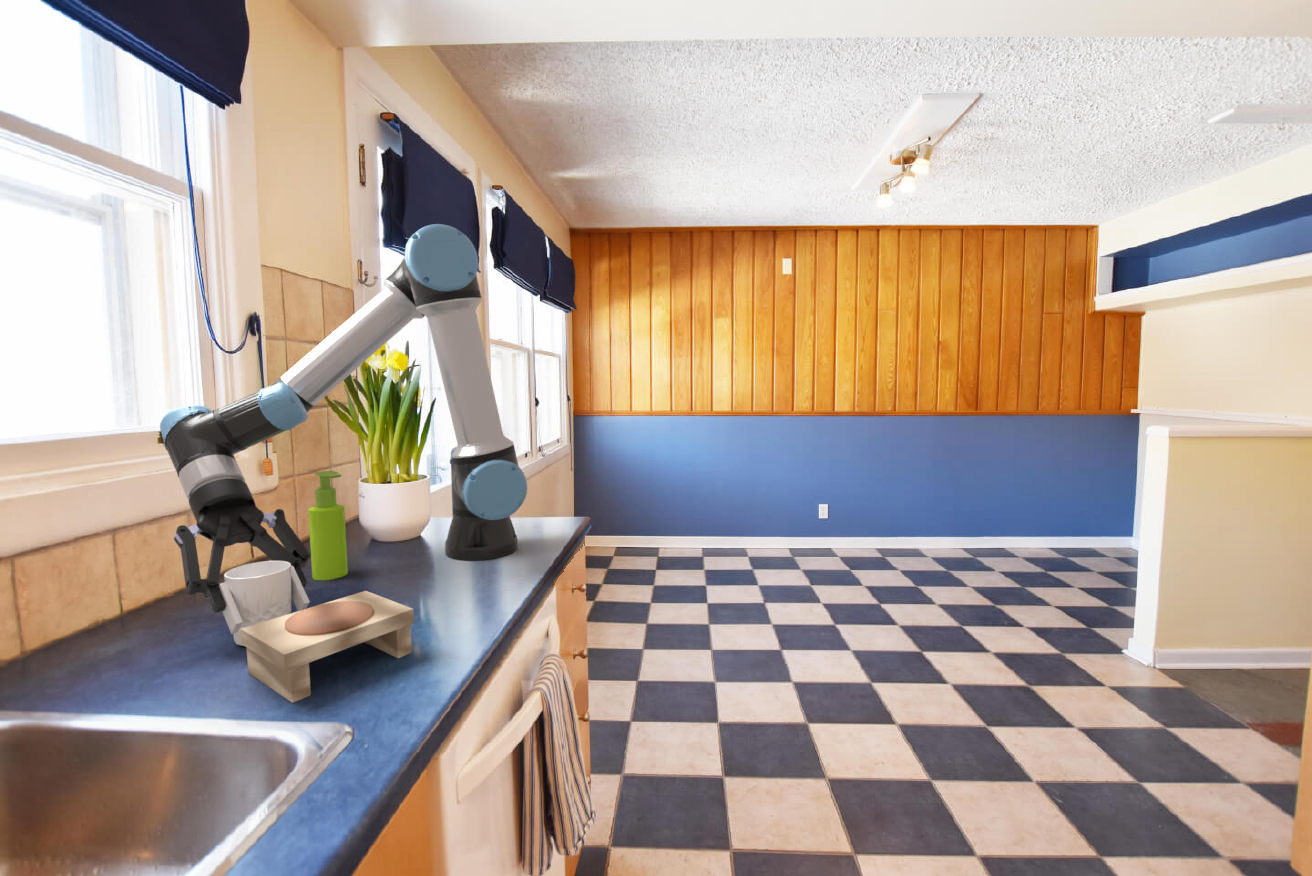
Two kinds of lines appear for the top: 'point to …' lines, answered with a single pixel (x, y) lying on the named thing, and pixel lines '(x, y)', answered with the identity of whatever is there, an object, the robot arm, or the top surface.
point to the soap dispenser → (327, 532)
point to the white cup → (260, 592)
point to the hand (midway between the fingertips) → (272, 617)
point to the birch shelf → (323, 638)
